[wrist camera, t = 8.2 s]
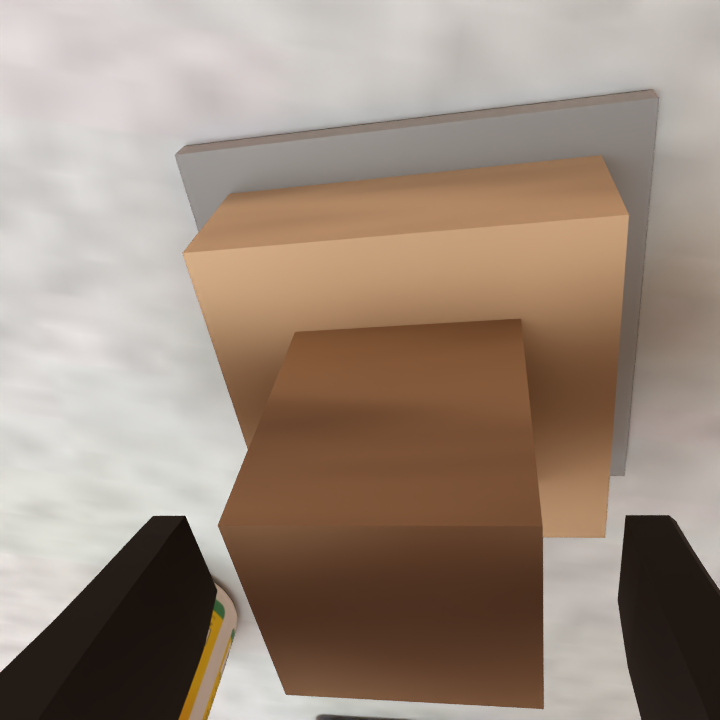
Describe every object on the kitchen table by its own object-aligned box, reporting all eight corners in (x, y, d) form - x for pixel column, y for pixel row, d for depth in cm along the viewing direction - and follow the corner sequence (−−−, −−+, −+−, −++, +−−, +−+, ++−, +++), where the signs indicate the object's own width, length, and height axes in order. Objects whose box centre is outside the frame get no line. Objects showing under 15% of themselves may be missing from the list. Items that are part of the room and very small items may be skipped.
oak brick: (587, 449, 18) (605, 537, 16) (301, 455, 20) (276, 536, 17) (601, 155, 14) (628, 214, 11) (228, 193, 15) (182, 253, 13)
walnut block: (525, 485, 15) (543, 709, 11) (334, 487, 16) (285, 694, 12) (521, 318, 13) (543, 525, 8) (295, 332, 13) (217, 525, 9)
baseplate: (620, 460, 19) (624, 475, 18) (280, 466, 21) (275, 479, 20) (652, 89, 13) (659, 97, 13) (184, 146, 15) (175, 155, 15)
